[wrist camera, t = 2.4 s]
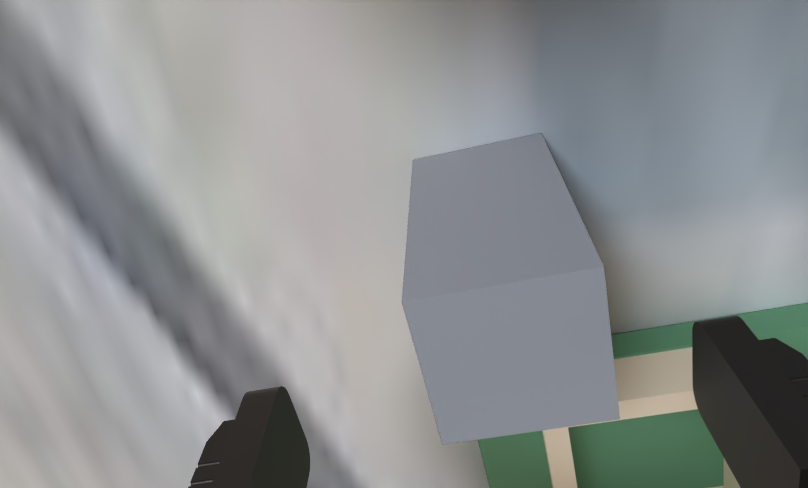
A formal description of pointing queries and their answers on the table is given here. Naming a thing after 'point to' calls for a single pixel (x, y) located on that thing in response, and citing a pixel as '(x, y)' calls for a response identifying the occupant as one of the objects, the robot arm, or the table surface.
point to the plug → (505, 295)
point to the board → (638, 420)
